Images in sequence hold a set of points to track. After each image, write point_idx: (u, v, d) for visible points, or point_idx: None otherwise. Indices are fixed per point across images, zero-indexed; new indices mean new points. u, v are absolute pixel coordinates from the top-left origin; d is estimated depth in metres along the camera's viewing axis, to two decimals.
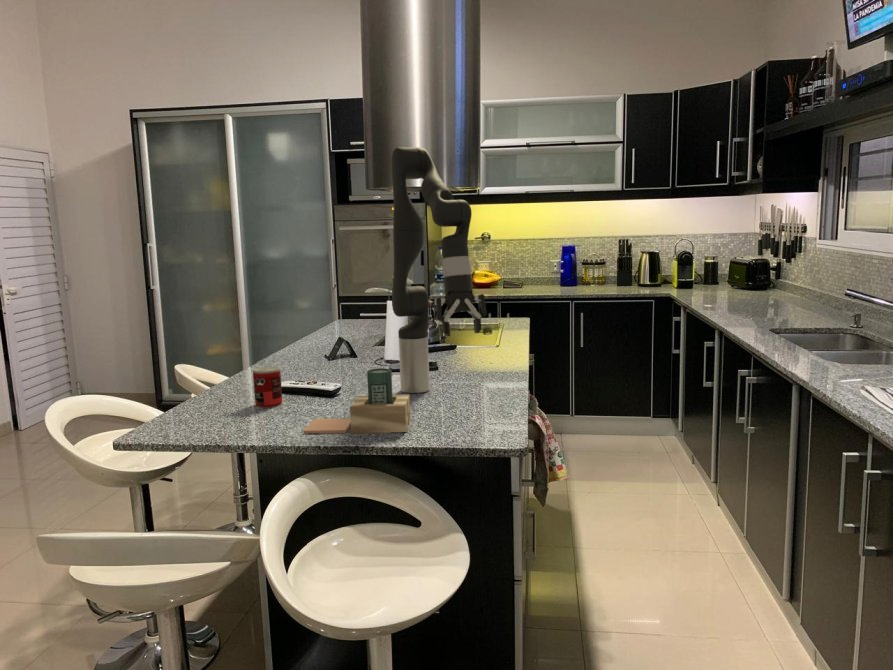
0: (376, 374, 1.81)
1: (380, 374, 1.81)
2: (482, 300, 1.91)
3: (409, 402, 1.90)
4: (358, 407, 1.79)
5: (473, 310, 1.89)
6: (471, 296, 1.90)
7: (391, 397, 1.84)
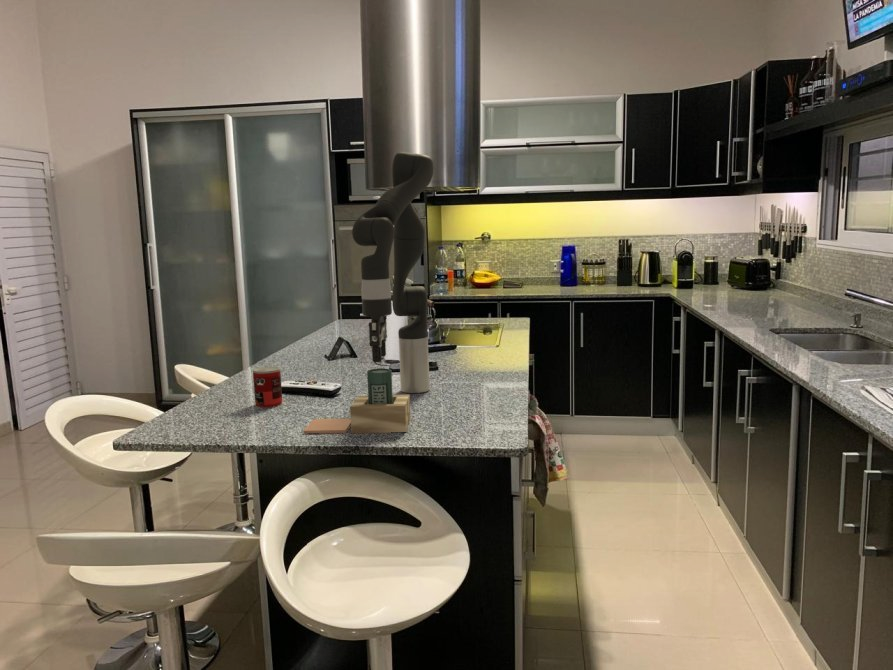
0: (376, 374, 1.81)
1: (380, 374, 1.81)
2: None
3: (409, 402, 1.90)
4: (358, 407, 1.79)
5: None
6: (371, 322, 1.79)
7: (391, 397, 1.84)
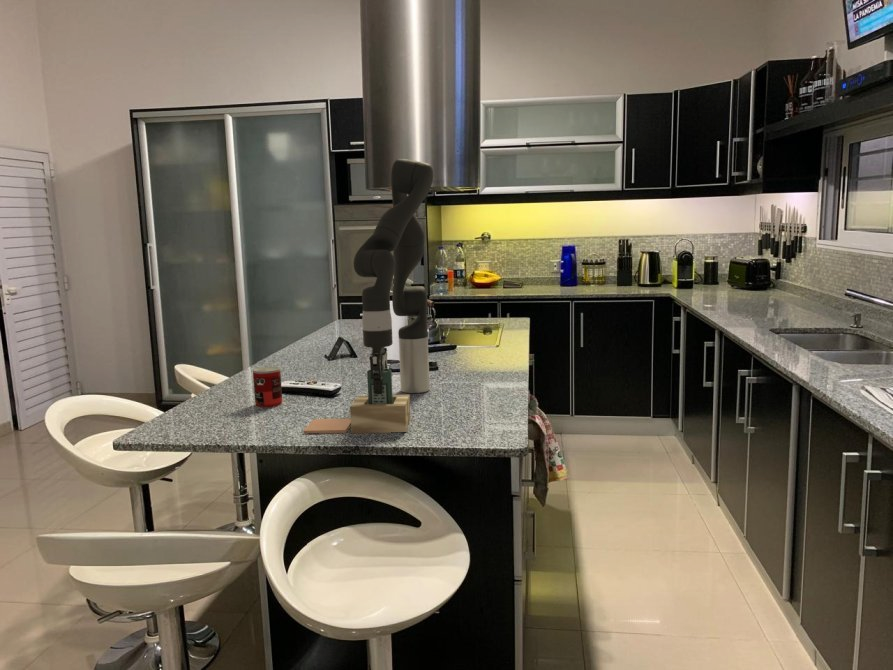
0: None
1: None
2: None
3: (409, 402, 1.90)
4: (358, 407, 1.79)
5: None
6: None
7: (391, 397, 1.84)
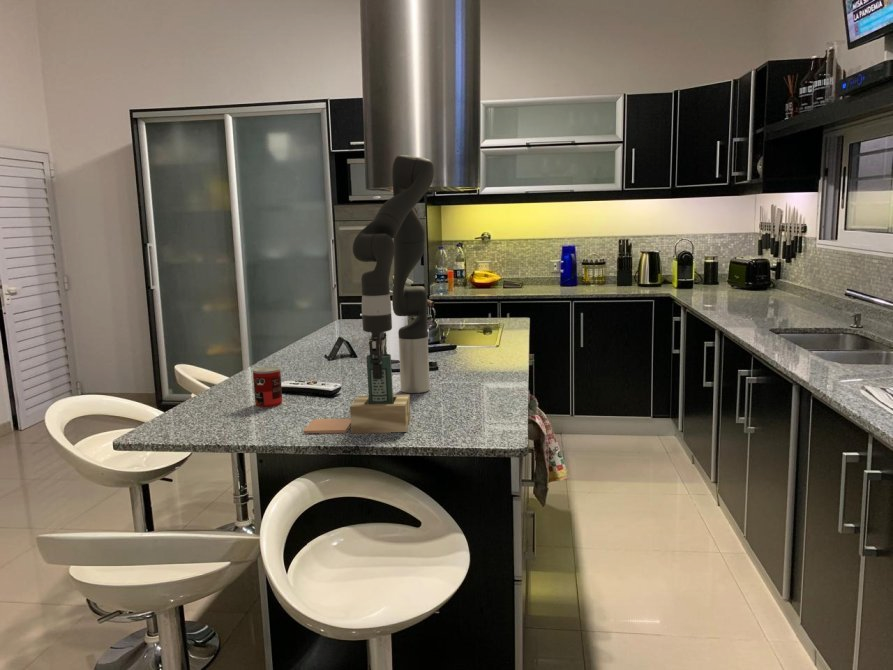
0: None
1: None
2: None
3: (409, 402, 1.90)
4: (358, 407, 1.79)
5: None
6: (371, 338, 1.79)
7: (391, 382, 1.83)
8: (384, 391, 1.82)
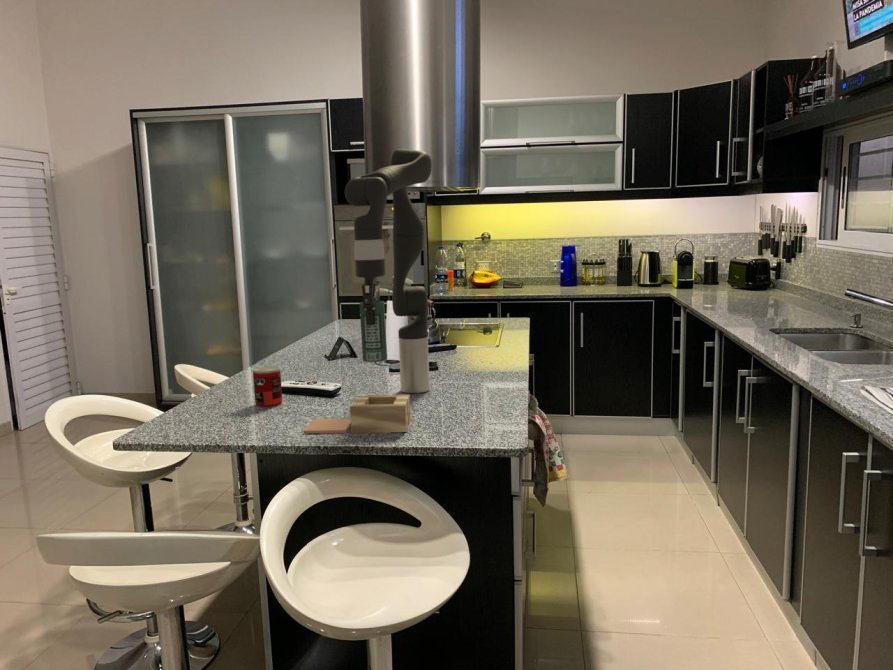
0: None
1: None
2: (362, 291, 1.75)
3: (409, 402, 1.90)
4: (358, 407, 1.79)
5: None
6: None
7: (384, 329, 1.81)
8: (377, 338, 1.80)
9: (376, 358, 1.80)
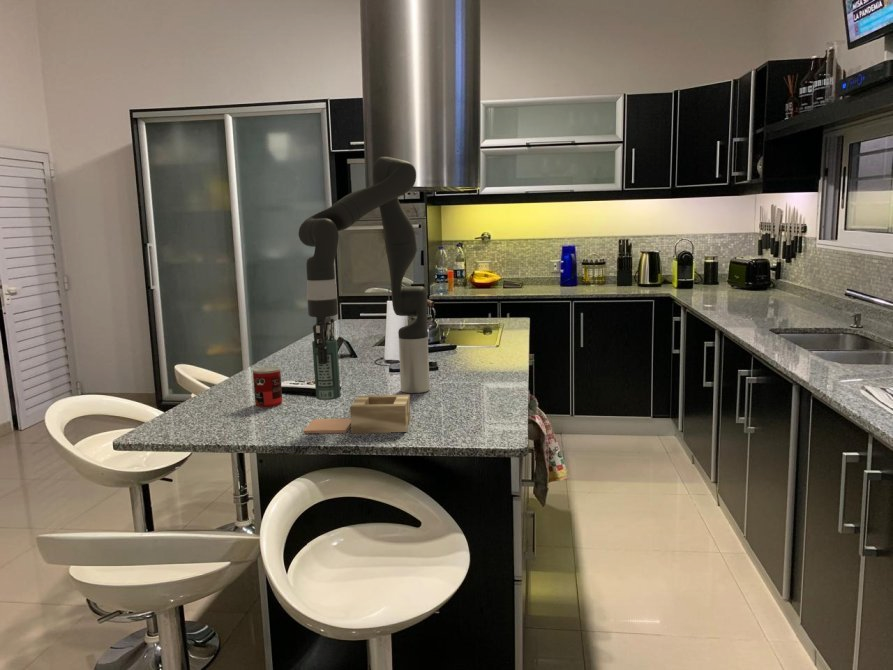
0: None
1: None
2: None
3: (409, 402, 1.90)
4: (358, 407, 1.79)
5: None
6: None
7: (337, 367, 1.83)
8: (330, 376, 1.82)
9: (328, 396, 1.82)
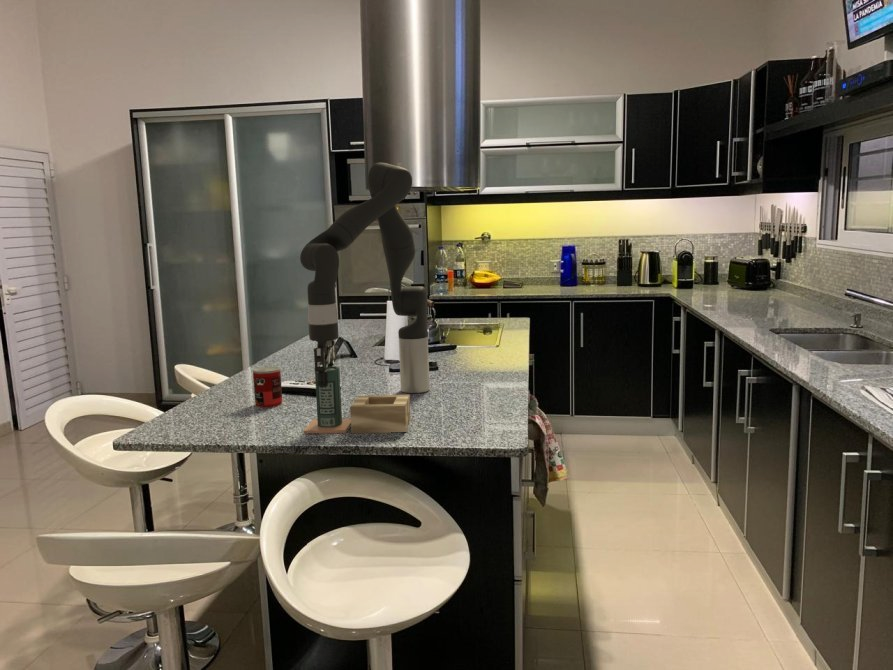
0: None
1: (327, 372, 1.81)
2: None
3: (409, 402, 1.90)
4: (358, 407, 1.79)
5: None
6: None
7: (339, 395, 1.84)
8: (332, 404, 1.83)
9: (330, 424, 1.84)
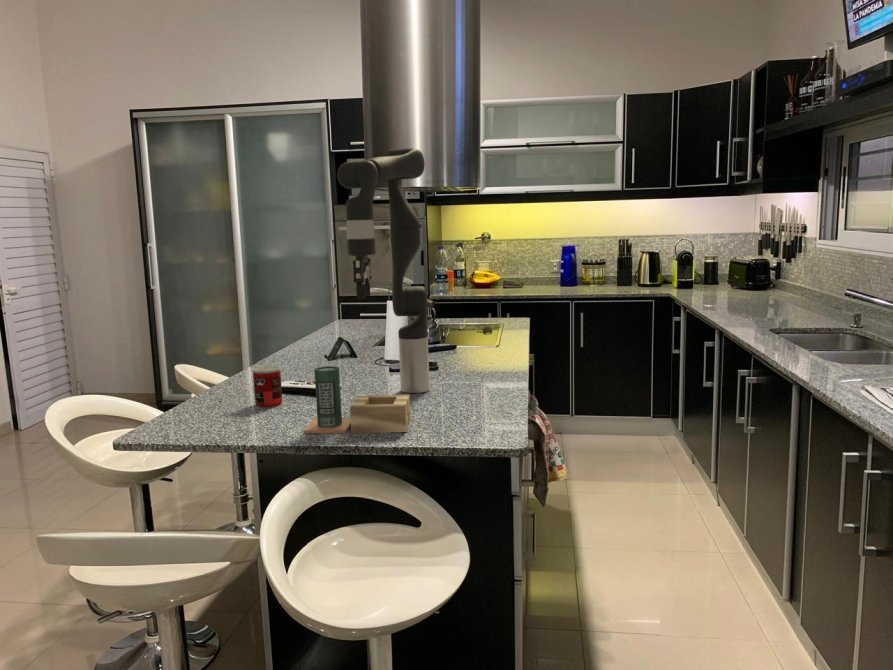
0: (323, 372, 1.82)
1: (327, 372, 1.82)
2: None
3: (409, 402, 1.90)
4: (358, 407, 1.79)
5: None
6: None
7: (338, 395, 1.84)
8: (331, 404, 1.83)
9: (330, 424, 1.84)
